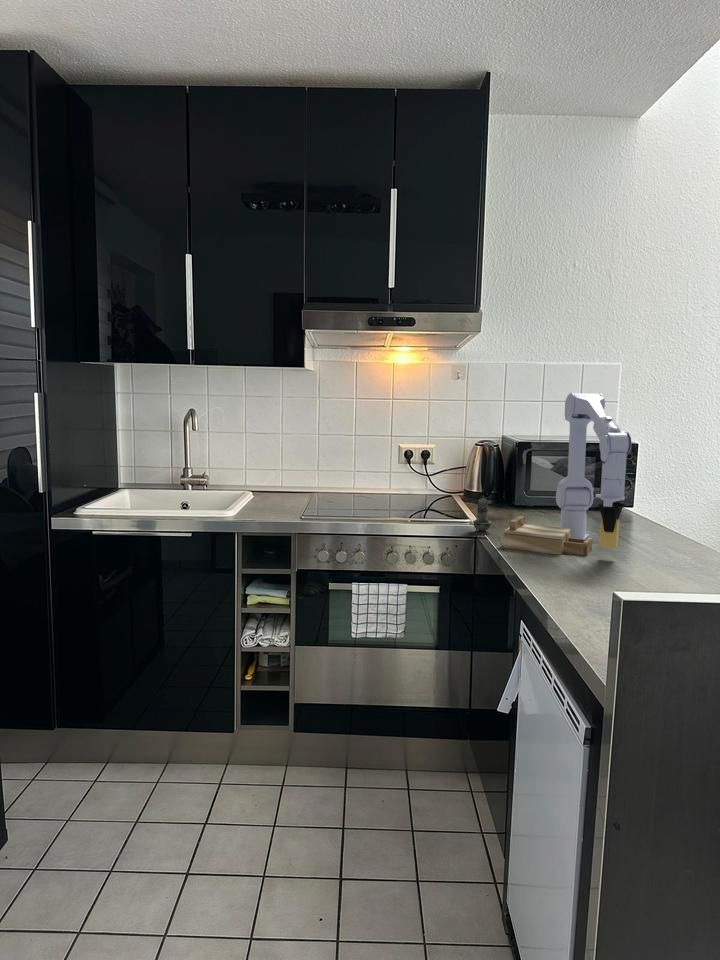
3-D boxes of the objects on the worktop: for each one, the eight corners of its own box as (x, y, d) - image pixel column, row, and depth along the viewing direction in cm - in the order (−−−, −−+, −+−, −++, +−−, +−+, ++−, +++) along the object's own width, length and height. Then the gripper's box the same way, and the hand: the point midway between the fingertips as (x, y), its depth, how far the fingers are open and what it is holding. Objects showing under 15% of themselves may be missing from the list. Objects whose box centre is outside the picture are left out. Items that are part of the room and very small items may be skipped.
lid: (516, 525, 195) (516, 514, 195) (571, 531, 188) (572, 520, 187) (503, 533, 184) (504, 521, 184) (561, 539, 176) (562, 527, 176)
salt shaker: (478, 530, 209) (479, 493, 208) (494, 532, 206) (496, 495, 204) (468, 533, 205) (469, 495, 203) (485, 535, 201) (486, 497, 200)
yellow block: (601, 543, 174) (603, 517, 173) (617, 545, 172) (619, 519, 171) (599, 546, 171) (601, 519, 170) (615, 548, 169) (617, 521, 168)
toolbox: (515, 539, 196) (516, 526, 195) (593, 548, 185) (594, 534, 185) (503, 547, 185) (503, 533, 184) (584, 557, 174) (585, 543, 173)
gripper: (601, 475, 178) (598, 524, 179) (592, 480, 165) (589, 533, 167) (629, 477, 174) (626, 527, 176) (622, 482, 162) (618, 536, 163)
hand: (610, 530), depth 171 cm, fingers closed on yellow block, 4 cm apart
